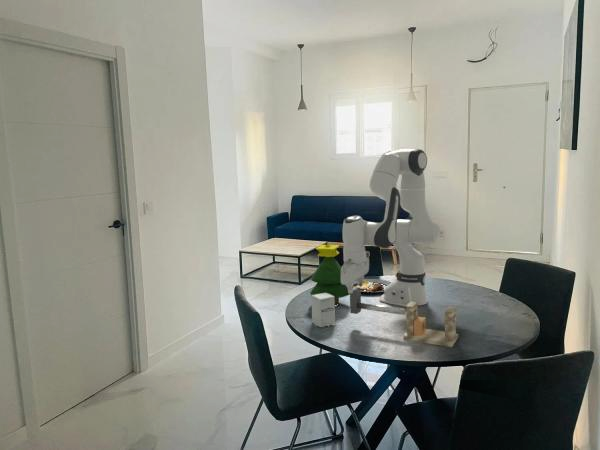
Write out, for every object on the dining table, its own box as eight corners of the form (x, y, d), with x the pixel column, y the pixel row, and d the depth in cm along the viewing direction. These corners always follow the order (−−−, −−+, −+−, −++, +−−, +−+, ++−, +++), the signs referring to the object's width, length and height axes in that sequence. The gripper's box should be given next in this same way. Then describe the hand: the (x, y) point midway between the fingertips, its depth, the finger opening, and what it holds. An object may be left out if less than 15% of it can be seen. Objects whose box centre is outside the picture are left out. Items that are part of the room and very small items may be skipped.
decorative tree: (355, 300, 227) (354, 239, 223) (345, 313, 210) (343, 247, 205) (318, 297, 234) (316, 238, 230) (305, 309, 217) (302, 246, 212)
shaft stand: (403, 339, 178) (403, 307, 176) (411, 330, 187) (411, 299, 185) (451, 347, 169) (452, 314, 167) (458, 337, 177) (458, 305, 175)
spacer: (413, 334, 178) (413, 320, 177) (418, 329, 183) (417, 316, 182) (421, 335, 177) (421, 322, 176) (425, 330, 181) (425, 317, 180)
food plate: (382, 297, 229) (382, 290, 228) (340, 292, 241) (340, 286, 241) (400, 286, 250) (400, 279, 249) (360, 281, 262) (360, 275, 262)
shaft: (350, 313, 192) (349, 289, 190) (354, 310, 195) (353, 286, 194) (402, 320, 181) (401, 295, 179) (405, 317, 184) (405, 292, 182)
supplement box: (320, 329, 192) (319, 299, 190) (311, 323, 199) (310, 294, 197) (335, 325, 195) (334, 296, 194) (326, 320, 202) (325, 291, 200)
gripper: (350, 263, 179) (352, 298, 181) (371, 251, 196) (372, 283, 199) (335, 262, 182) (337, 296, 185) (357, 250, 199) (358, 281, 202)
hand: (355, 289), depth 192 cm, fingers open, 8 cm apart
